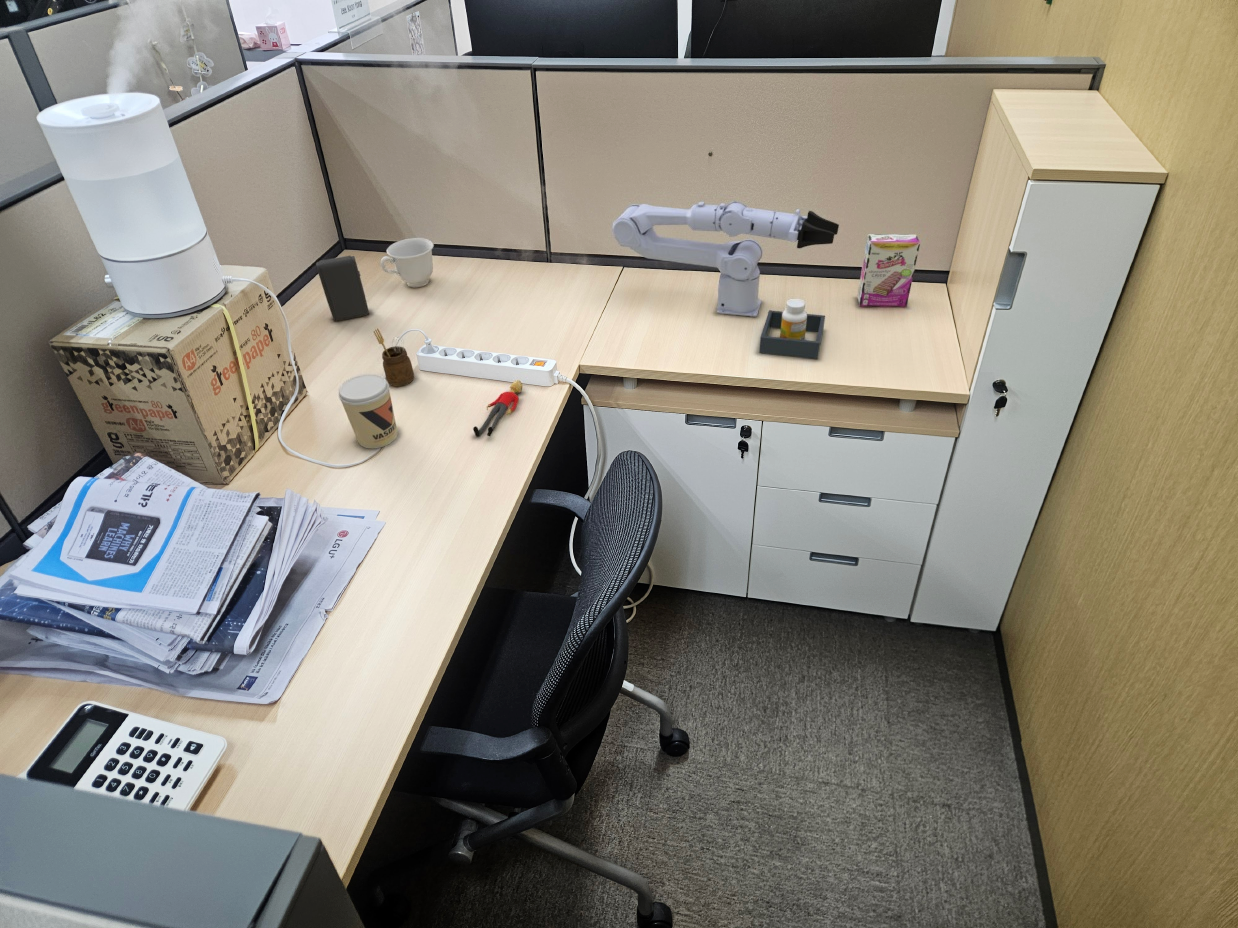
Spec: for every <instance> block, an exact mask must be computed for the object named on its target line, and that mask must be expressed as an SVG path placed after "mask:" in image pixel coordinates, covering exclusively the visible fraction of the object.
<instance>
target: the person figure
mask: <svg viewBox="0 0 1238 928" xmlns="http://www.w3.org/2000/svg"><path fill="white" fill-rule="evenodd" d="M509 389H510V391H504V392H501V393H500V395H498V397H497V398H496V399H495V400H494V401H492V402H490V403H488V404H487V406H486V411H488V410H489V408H492V409H491V410H490V412H489V414H488V416H487V418H486V420H485V421H484V423H483V424H482V425H481V427H480V428H478V426H474V427H472V430H473V433H474V435H475V437H476V438H479V437H481V435H482V434H483V433H484V431H485V430H486V429H487V433H486V436H487V437H491V435H492V434H493V432H494V431H495V429H496V428H497V426H498V424H499V422H500V421H501V419H502V418H503V416H504V415H505V414H506V415H507V416H508V415H511V413H512V412H514V411H515V410H516V408H517V405H518V403H519V400H520V397H519V396H518V395H517V394H520V393H522V390H523V383H522V382H521V381H520V380H518V379H517V380H515V381H513V382H512V383H511V384H510V386H509ZM512 403H513V404H512ZM510 404H512V406H511V407H510ZM509 407H510V408H509ZM494 417H495V418H494ZM493 419H494V420H493ZM492 420H493V422H492ZM491 422H492V424H491ZM490 424H491V426H489V425H490Z"/></svg>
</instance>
